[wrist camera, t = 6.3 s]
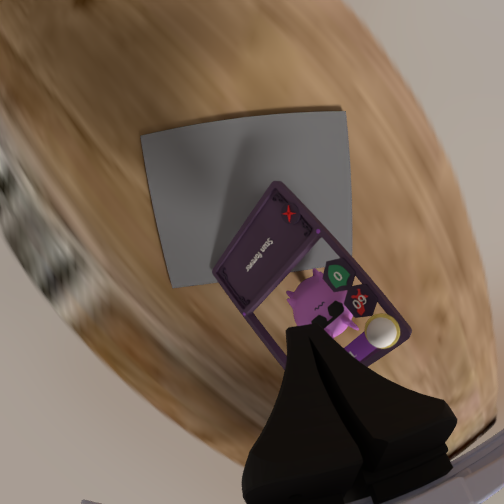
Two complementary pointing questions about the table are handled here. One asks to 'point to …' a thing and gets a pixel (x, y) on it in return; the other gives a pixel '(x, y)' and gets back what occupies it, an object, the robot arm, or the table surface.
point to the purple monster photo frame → (312, 289)
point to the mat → (245, 184)
